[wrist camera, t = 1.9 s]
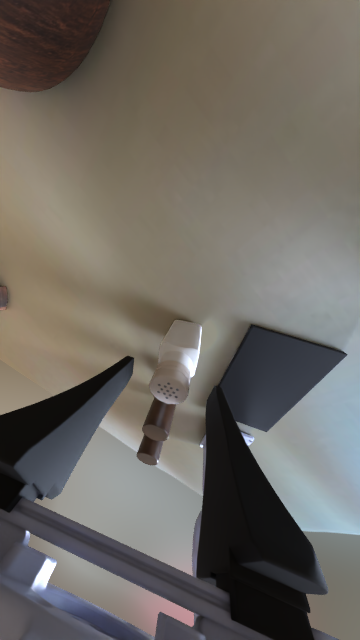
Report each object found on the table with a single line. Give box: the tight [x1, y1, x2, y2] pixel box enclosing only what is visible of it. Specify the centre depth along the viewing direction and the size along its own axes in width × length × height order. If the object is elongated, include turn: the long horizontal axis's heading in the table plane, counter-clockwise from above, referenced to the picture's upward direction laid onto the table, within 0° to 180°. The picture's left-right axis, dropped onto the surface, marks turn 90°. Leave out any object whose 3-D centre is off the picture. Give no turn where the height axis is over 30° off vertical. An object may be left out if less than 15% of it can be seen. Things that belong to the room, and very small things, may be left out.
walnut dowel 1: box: [142, 397, 176, 441], centre depth 18 cm, size 3×3×9 cm
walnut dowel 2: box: [137, 434, 163, 465], centre depth 21 cm, size 3×3×9 cm
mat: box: [218, 325, 347, 432], centre depth 20 cm, size 18×11×1 cm, turn 167°
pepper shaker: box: [149, 320, 202, 404], centre depth 15 cm, size 4×4×10 cm
